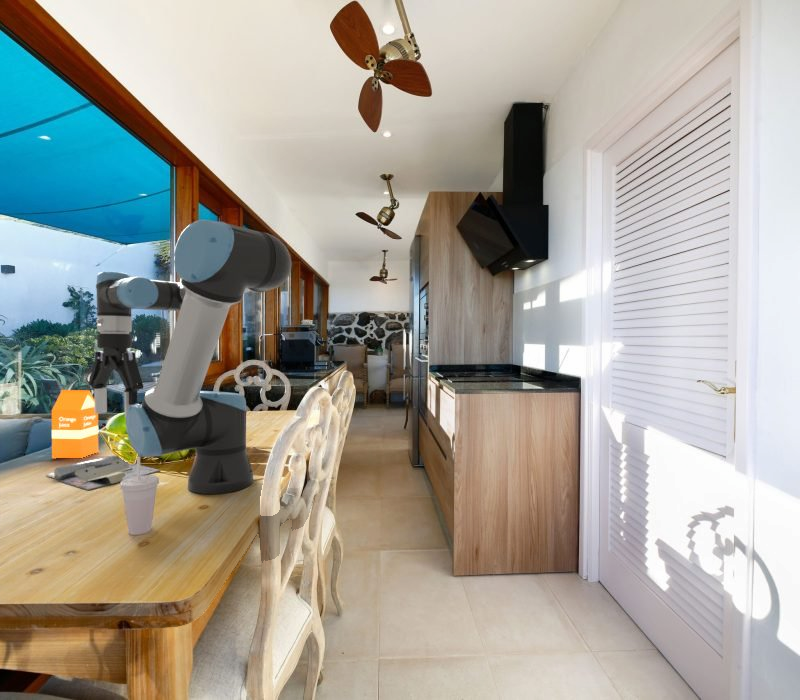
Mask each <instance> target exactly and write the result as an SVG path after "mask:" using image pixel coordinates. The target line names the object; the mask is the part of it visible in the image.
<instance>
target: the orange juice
mask: <svg viewBox="0 0 800 700" xmlns="http://www.w3.org/2000/svg"><path fill="white" fill-rule="evenodd" d="M97 452H98V453H99V413H98V414H95V409H94V396H93V395H92V393H91V391H90V390H87V389H86V390H83V389H79V390H78V389H77V390H76V389H61V390H60V393H59V395H58V397H57V400H56V401H55V403H54V405H53V407H52V409H51V458H52V459H56V458H82V459H84V458H83V457H85V458H87V457H89V456H88V455H90V456H92V455H91V454H93V455H95V454H94V453H96V454H97ZM86 456H87V457H86Z"/></svg>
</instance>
